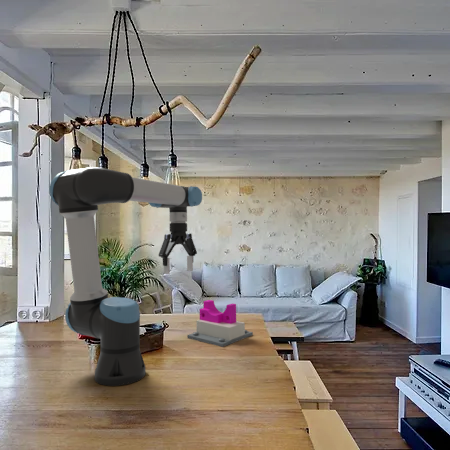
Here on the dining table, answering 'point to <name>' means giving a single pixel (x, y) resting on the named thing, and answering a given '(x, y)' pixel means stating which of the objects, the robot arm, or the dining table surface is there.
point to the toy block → (217, 313)
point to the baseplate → (216, 340)
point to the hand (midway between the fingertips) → (178, 272)
